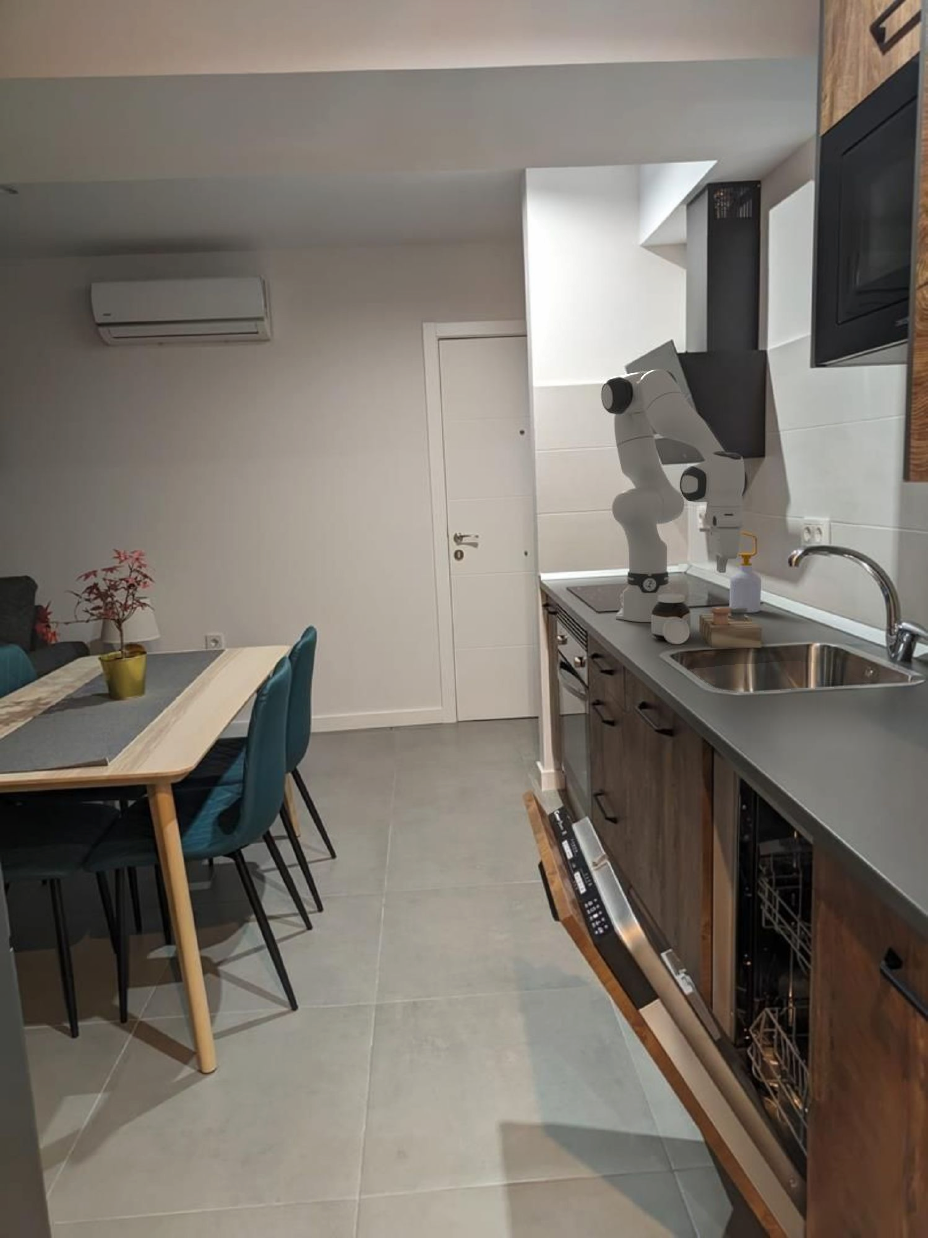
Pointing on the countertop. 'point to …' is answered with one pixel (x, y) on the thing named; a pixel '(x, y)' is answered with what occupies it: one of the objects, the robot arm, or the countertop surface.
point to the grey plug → (738, 612)
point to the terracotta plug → (720, 615)
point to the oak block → (730, 632)
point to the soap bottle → (746, 584)
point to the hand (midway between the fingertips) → (721, 572)
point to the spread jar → (671, 619)
